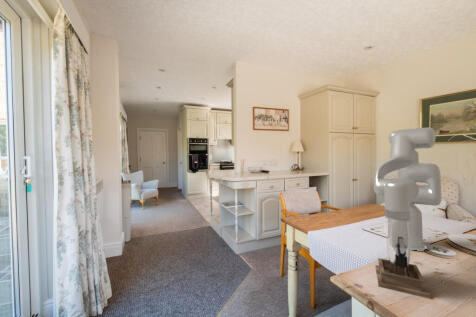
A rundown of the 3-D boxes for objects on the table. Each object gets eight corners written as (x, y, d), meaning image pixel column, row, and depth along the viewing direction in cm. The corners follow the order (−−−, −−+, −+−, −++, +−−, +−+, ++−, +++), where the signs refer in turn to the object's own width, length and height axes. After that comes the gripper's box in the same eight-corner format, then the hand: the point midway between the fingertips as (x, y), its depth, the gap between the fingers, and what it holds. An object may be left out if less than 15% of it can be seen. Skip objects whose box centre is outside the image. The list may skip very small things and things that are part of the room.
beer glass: (416, 284, 72) (414, 241, 72) (394, 282, 73) (392, 241, 73) (404, 273, 78) (403, 234, 78) (384, 271, 80) (383, 233, 80)
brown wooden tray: (375, 267, 85) (375, 256, 85) (419, 276, 78) (418, 264, 78) (378, 286, 73) (378, 273, 73) (430, 298, 66) (430, 284, 66)
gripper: (382, 208, 85) (383, 249, 85) (388, 219, 70) (389, 269, 70) (405, 210, 81) (406, 252, 81) (416, 222, 66) (418, 274, 66)
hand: (398, 260), depth 76 cm, fingers open, 9 cm apart
